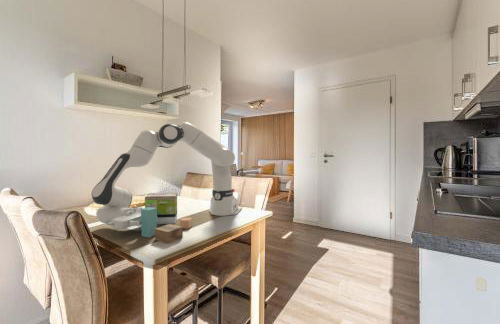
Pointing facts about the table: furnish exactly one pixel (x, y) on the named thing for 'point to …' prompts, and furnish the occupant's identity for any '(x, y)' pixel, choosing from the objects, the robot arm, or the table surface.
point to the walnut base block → (168, 233)
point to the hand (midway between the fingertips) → (148, 220)
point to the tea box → (163, 206)
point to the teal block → (148, 221)
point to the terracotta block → (186, 222)
